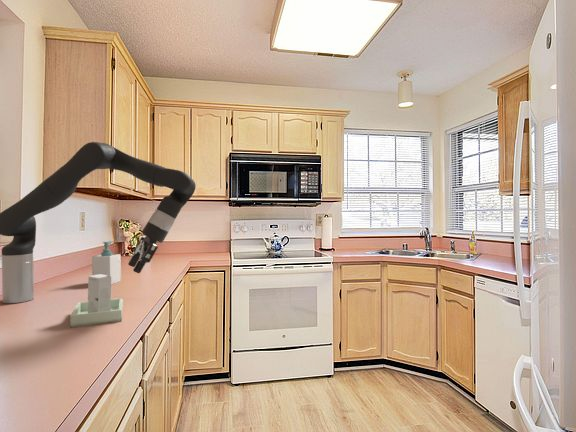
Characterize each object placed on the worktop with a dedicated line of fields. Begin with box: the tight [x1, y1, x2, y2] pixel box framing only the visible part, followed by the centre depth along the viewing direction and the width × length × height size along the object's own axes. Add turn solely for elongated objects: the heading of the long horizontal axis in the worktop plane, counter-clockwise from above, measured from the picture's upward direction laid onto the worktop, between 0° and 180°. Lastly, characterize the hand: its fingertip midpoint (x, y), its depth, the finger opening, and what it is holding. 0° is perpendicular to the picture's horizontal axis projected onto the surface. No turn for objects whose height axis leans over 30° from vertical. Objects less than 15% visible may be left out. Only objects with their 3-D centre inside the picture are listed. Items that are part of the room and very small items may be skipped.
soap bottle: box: [91, 240, 122, 285], centre depth 161 cm, size 9×9×19 cm
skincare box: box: [87, 274, 112, 313], centre depth 109 cm, size 6×4×12 cm
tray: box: [69, 297, 124, 328], centre depth 109 cm, size 16×13×3 cm
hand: (133, 269), depth 115 cm, fingers open, 8 cm apart
